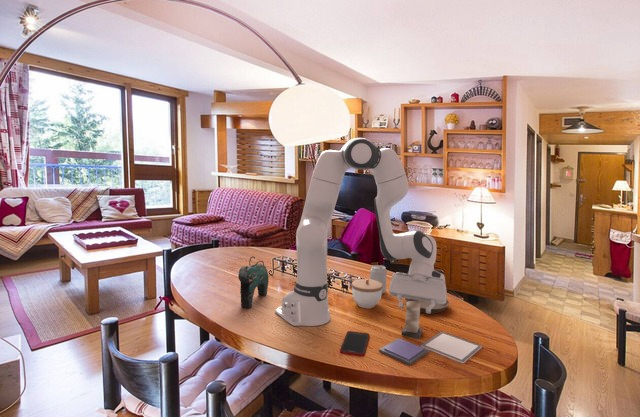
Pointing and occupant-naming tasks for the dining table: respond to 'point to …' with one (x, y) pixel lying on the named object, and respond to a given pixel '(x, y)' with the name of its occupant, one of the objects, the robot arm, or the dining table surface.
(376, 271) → the can
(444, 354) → the marked square
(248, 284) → the green elephant figure
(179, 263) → the dining table surface
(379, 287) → the lidded bowl
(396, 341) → the ink pad
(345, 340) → the cell phone
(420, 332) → the stamp
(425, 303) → the plant saucer
